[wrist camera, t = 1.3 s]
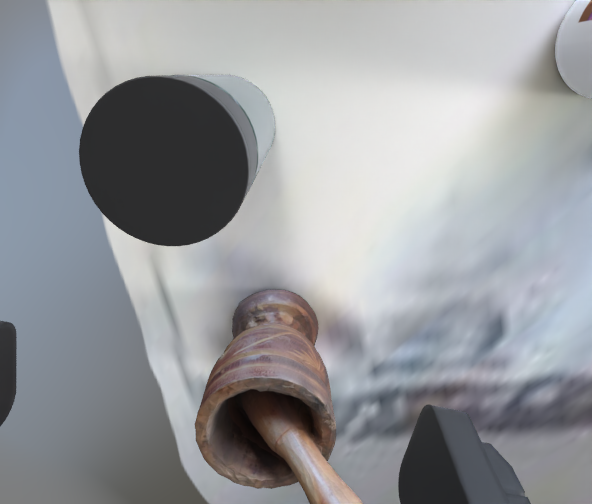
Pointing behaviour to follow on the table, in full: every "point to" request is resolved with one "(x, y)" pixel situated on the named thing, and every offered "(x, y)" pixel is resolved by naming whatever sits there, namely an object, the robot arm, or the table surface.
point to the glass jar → (249, 109)
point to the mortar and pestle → (272, 402)
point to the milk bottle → (576, 48)
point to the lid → (168, 158)
